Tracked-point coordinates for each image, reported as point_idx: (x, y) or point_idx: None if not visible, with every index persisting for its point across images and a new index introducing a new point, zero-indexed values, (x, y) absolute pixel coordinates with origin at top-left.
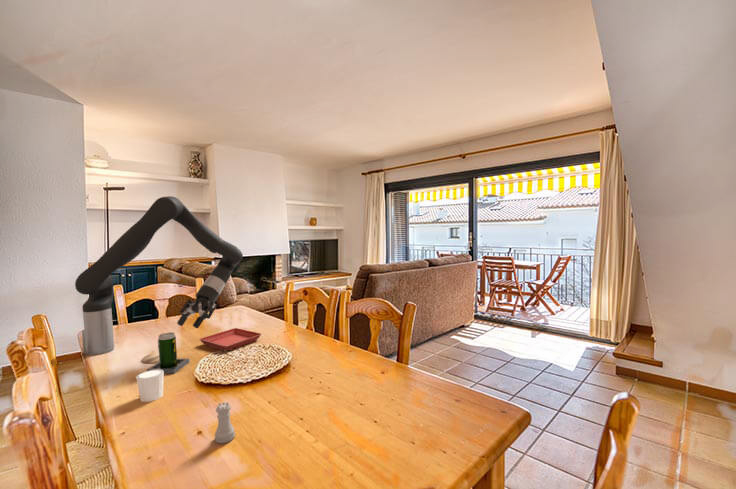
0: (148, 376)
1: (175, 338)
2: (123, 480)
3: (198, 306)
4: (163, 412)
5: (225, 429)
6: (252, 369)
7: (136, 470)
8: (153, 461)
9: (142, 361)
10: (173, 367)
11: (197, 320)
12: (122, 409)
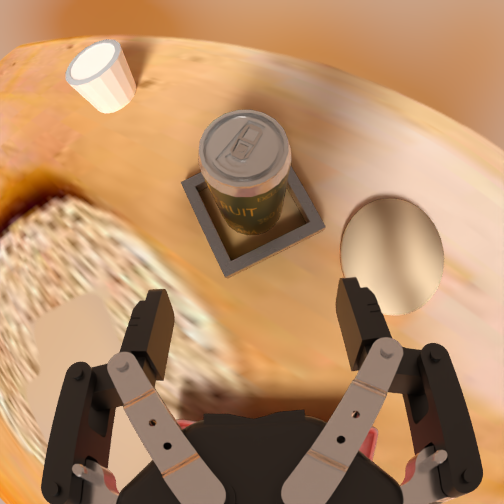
0: (86, 56)
1: (210, 187)
2: (18, 46)
3: (231, 464)
4: (52, 93)
5: None
6: (12, 318)
7: (15, 54)
8: (8, 66)
9: (406, 204)
10: (196, 190)
11: (140, 325)
12: (130, 52)
